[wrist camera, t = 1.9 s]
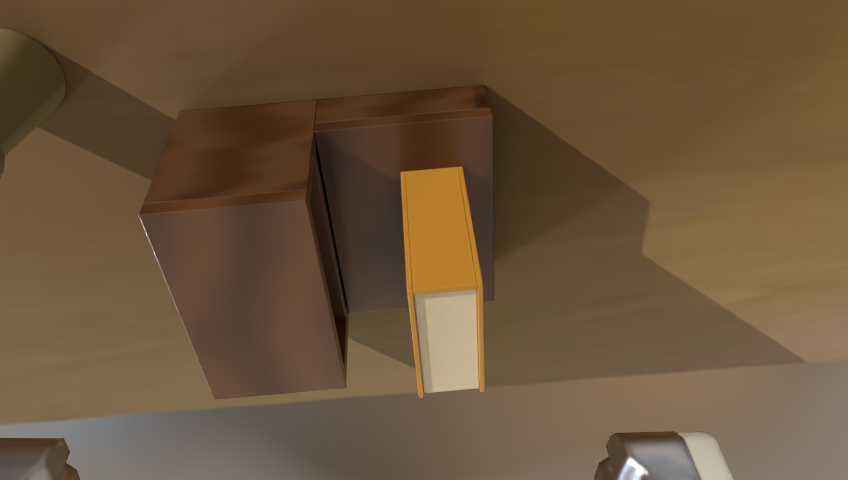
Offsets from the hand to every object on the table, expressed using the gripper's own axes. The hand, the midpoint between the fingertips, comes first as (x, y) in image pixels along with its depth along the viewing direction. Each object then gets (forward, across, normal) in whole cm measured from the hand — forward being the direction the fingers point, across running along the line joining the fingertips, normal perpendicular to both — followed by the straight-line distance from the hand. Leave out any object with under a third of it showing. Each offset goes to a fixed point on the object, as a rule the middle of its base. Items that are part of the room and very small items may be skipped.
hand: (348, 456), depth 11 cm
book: (+32, -6, +20) cm, 38 cm away
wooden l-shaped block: (+36, 0, +21) cm, 42 cm away
